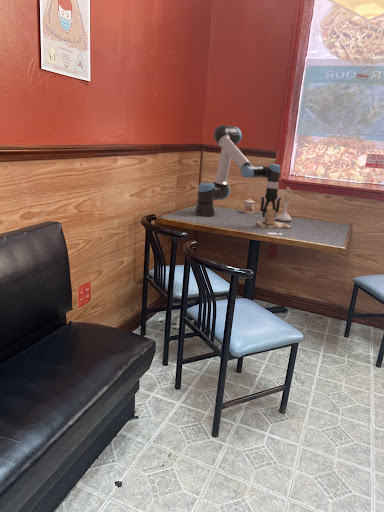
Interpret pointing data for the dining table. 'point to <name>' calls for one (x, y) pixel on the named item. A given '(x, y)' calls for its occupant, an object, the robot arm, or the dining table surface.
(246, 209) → the teacup with lid
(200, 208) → the robot arm
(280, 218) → the flower in vase
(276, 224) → the board
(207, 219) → the dining table surface
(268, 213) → the block
